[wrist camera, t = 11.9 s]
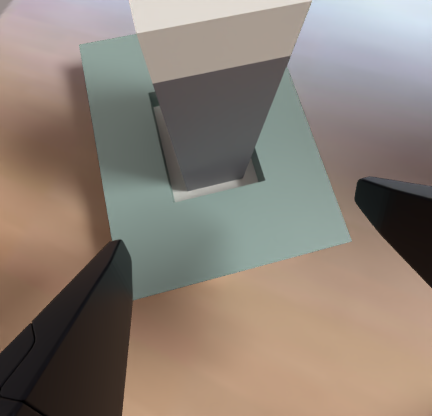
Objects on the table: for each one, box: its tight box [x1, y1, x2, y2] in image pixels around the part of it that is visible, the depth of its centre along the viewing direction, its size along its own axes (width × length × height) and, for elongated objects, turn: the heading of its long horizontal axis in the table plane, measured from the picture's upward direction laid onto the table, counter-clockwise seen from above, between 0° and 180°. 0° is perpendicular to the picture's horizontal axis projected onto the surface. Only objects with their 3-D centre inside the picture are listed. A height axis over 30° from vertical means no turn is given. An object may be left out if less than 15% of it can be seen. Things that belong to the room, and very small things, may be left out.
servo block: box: [129, 0, 312, 191], centre depth 12 cm, size 6×4×12 cm, turn 15°
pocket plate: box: [79, 34, 352, 300], centre depth 17 cm, size 18×14×2 cm
